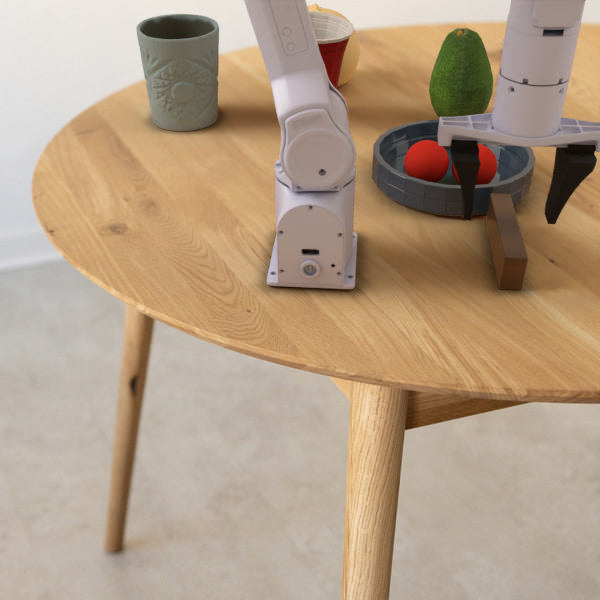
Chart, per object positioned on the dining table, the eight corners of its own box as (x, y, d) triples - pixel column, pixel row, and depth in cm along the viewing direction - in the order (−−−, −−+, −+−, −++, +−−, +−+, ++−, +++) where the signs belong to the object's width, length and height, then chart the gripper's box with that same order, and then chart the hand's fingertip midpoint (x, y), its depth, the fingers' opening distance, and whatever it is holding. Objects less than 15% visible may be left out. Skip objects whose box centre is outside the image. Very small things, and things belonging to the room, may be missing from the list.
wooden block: (485, 222, 80) (490, 193, 78) (505, 223, 80) (510, 193, 78) (499, 289, 70) (505, 257, 68) (521, 290, 70) (528, 258, 68)
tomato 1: (428, 198, 87) (449, 183, 82) (391, 178, 86) (410, 162, 81) (441, 162, 88) (462, 146, 84) (405, 142, 87) (424, 125, 83)
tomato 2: (512, 171, 84) (494, 168, 80) (478, 199, 86) (459, 196, 82) (489, 137, 85) (470, 131, 81) (455, 165, 88) (435, 161, 84)
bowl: (541, 222, 80) (547, 191, 78) (370, 216, 81) (372, 185, 79) (517, 150, 94) (522, 121, 92) (372, 145, 95) (374, 117, 93)
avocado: (426, 110, 104) (435, 18, 97) (486, 113, 103) (499, 20, 96) (425, 134, 98) (434, 38, 91) (489, 138, 97) (503, 41, 90)
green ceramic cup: (183, 98, 108) (174, 9, 101) (241, 114, 103) (236, 21, 96) (130, 123, 101) (117, 28, 94) (190, 141, 96) (181, 43, 89)
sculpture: (268, 72, 116) (266, -3, 109) (347, 67, 118) (349, -8, 111) (281, 101, 107) (280, 21, 100) (366, 95, 108) (370, 15, 102)
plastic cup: (329, 137, 97) (331, 40, 90) (254, 120, 101) (250, 27, 94) (364, 107, 105) (369, 16, 98) (294, 93, 109) (293, 4, 102)
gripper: (611, 60, 68) (578, 199, 75) (442, 55, 68) (427, 193, 76) (633, 90, 62) (594, 237, 70) (448, 84, 63) (431, 230, 71)
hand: (507, 217), depth 73 cm, fingers open, 7 cm apart
